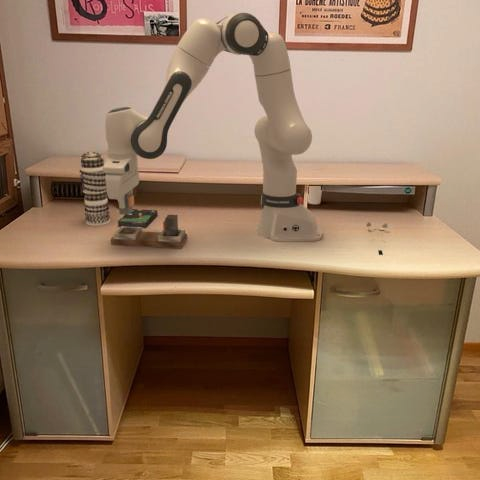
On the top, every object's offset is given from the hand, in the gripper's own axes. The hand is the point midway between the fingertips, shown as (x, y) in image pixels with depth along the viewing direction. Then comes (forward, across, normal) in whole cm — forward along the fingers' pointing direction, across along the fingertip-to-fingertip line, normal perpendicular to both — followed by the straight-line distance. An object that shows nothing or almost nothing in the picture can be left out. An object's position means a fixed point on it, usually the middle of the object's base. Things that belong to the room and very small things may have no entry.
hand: (125, 205), depth 151 cm
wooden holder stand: (+12, 0, +7) cm, 14 cm away
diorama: (+12, -13, +82) cm, 84 cm away
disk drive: (+13, -20, -3) cm, 24 cm away
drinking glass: (+12, -53, +62) cm, 83 cm away
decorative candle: (+12, -17, -17) cm, 27 cm away
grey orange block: (+2, 0, 0) cm, 2 cm away
